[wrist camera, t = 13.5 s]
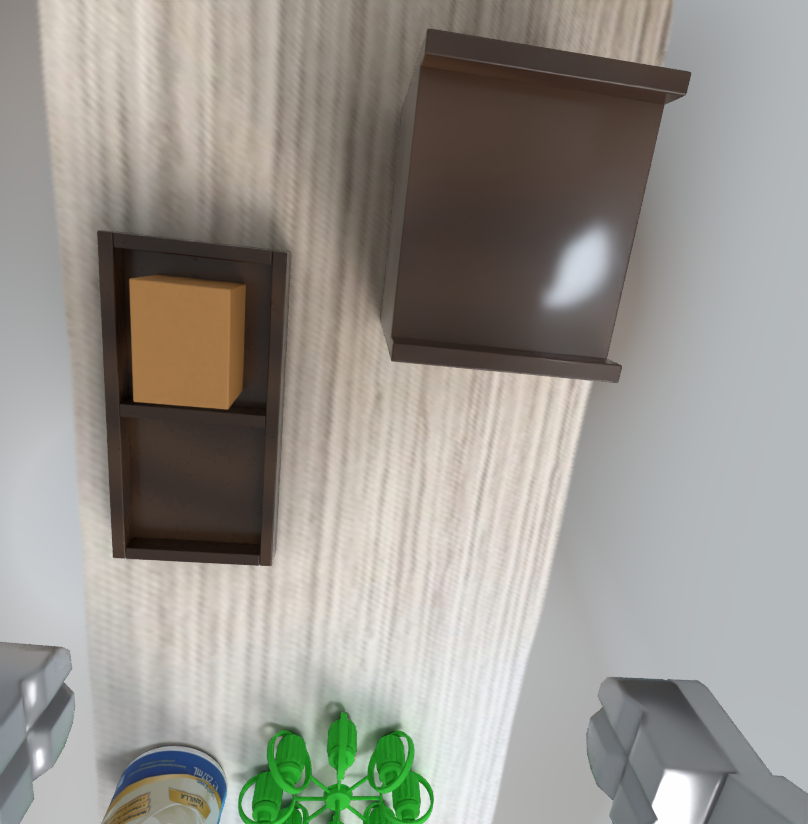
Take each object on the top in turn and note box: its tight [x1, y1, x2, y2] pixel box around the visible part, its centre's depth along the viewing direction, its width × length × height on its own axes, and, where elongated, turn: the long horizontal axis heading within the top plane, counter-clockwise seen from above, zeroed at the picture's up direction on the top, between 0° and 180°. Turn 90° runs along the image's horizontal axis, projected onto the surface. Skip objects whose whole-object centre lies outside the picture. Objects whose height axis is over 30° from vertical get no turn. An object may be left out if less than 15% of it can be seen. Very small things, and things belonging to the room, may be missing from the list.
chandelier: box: [238, 713, 434, 824], centre depth 41 cm, size 15×15×7 cm
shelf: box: [97, 230, 291, 566], centre depth 33 cm, size 20×10×2 cm, turn 174°
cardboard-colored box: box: [129, 274, 246, 409], centre depth 30 cm, size 6×5×4 cm
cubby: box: [380, 29, 691, 383], centre depth 27 cm, size 12×10×12 cm
